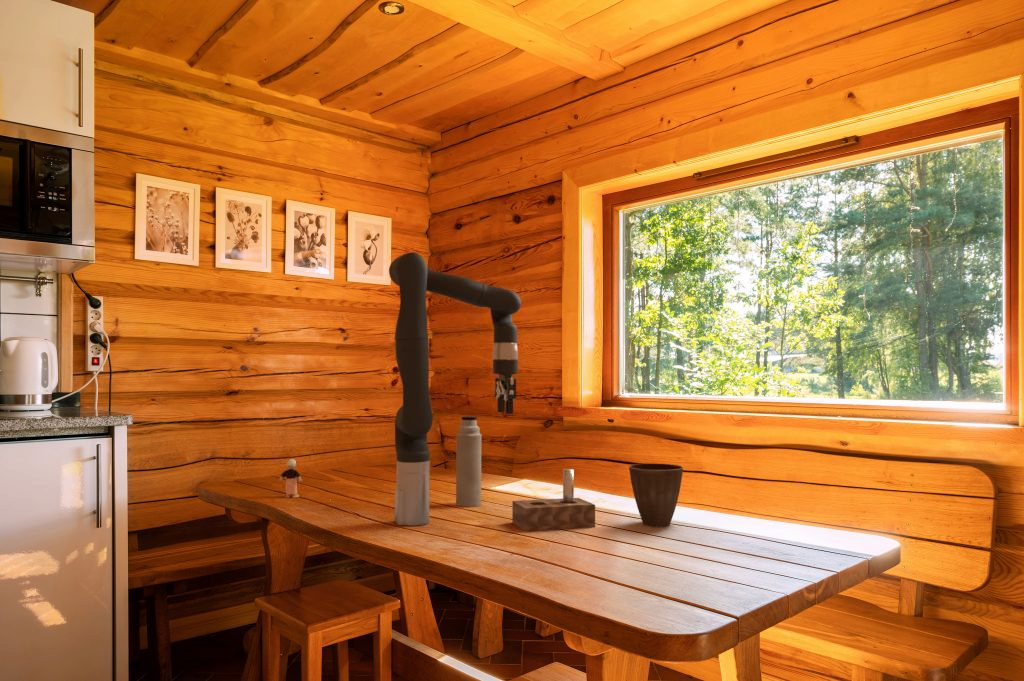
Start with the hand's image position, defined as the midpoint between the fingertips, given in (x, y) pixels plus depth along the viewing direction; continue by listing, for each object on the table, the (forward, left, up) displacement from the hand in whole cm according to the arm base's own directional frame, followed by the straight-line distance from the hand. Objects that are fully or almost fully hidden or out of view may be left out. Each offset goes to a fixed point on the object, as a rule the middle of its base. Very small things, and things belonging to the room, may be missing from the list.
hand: (505, 412), depth 223 cm
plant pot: (+37, -24, -30) cm, 54 cm away
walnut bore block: (+9, -17, -30) cm, 36 cm away
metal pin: (+14, -17, -29) cm, 36 cm away
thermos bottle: (-6, +20, -30) cm, 37 cm away
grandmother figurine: (-60, +51, -30) cm, 84 cm away
